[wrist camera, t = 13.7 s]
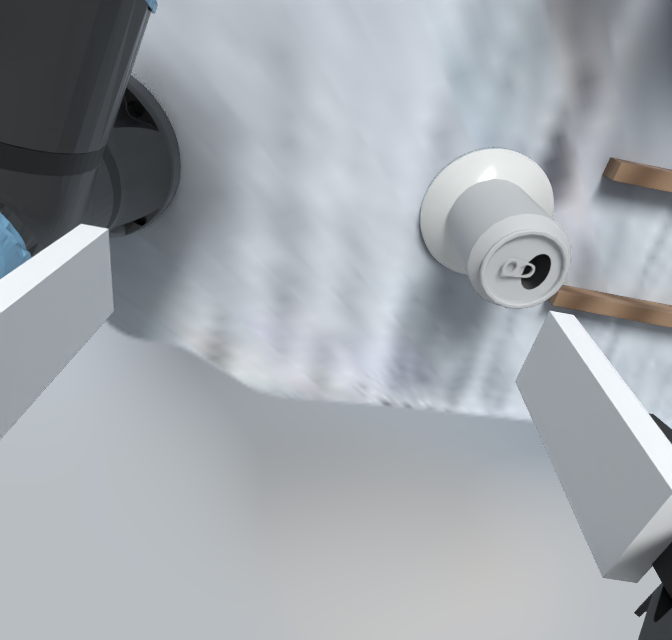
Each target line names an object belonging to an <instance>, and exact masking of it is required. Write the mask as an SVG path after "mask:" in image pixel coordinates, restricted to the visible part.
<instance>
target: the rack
mask: <svg viewBox="0 0 672 640" xmlns="http://www.w3.org/2000/svg"><path fill="white" fill-rule="evenodd" d="M603 175H604V176H606V177H608V178H610V179H611V180H613V181H618V182H623V183H628V184H633V185H638V186H643V187H648V188H653V189H658V190H662V191H667V192H672V170H669V169H664V168H660V167H655V166H650V165H645V164H640V163H635V162H630V161H626V160H621V159H616V158H610V160H609V162H608V164H607V167H606V169H605V171H604V173H603ZM548 300H549V301H550V302H551V304H552V305H553V306H559V307H564V308H569V309H575V310H580V311H585V312H591V313H596V314H602V315H607V316H612V317H618V318H623V319H628V320H634V321H639V322H645V323H650V324H655V325H661V326H666V327H671V328H672V306H671V305H666V304H660V303H655V302H650V301H645V300H639V299H634V298H629V297H623V296H618V295H613V294H607V293H602V292H597V291H592V290H586V289H581V288H576V287H570V286H565V285H562V286H561V287H560V289H559V290H558V291H557V292H556V293H555V294H554V295H553V296H551V297H550V298H549V299H548Z"/></svg>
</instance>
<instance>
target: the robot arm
mask: <svg viewBox="0 0 672 640" xmlns="http://www.w3.org/2000/svg"><path fill="white" fill-rule="evenodd" d="M156 9H157V1H156V0H0V440H1V438H2V437H3V436H4V435H5V434H6V433H7V432H8V430H9V429H10V428H11V427H12V426H13V425H14V424H15V423H16V421H17V420H18V419H19V418H20V417H21V416H22V415H23V413H24V412H25V411H26V410H27V409H28V408H29V407H30V406H31V404H32V403H33V402H34V401H35V400H36V399H37V398H38V396H39V395H40V394H41V393H42V392H43V391H44V390H45V389H46V387H47V386H48V385H49V384H50V383H51V382H52V381H53V380H54V378H55V377H56V376H57V375H58V374H59V373H60V372H61V370H62V369H63V368H64V367H65V366H66V365H67V364H68V363H69V361H70V360H71V359H72V358H73V357H74V356H75V355H76V354H77V352H78V351H79V350H80V349H81V348H82V347H83V345H84V344H85V343H86V342H87V341H88V340H89V339H90V338H91V336H92V335H93V334H94V333H95V332H96V331H97V330H98V329H99V327H100V326H101V325H102V324H103V323H104V322H105V321H106V320H107V318H108V317H109V316H110V315H111V314H112V313H113V312H114V303H113V289H112V274H111V259H110V244H109V238H112V237H119V236H124V235H128V234H131V233H134V232H136V231H138V230H140V229H142V228H144V227H146V226H147V225H149V224H150V223H151V222H152V221H153V220H155V219H156V218H157V217H158V216H159V215H160V214H161V213H162V212H163V211H164V210H165V209H166V208H167V206H168V205H169V204H170V202H171V200H172V199H173V197H174V194H175V192H176V189H177V186H178V182H179V177H180V153H179V147H178V143H177V139H176V136H175V133H174V130H173V128H172V126H171V123H170V121H169V119H168V117H167V115H166V114H165V112H164V110H163V109H162V107H161V106H160V104H159V103H158V102H157V100H156V99H155V98H154V97H153V95H152V94H151V93H150V92H149V91H148V90H147V89H146V88H145V87H144V86H143V85H142V84H141V83H140V82H139V81H138V80H136V79H135V78H134V77H132V76H131V75H130V74H131V71H132V68H133V65H134V62H135V59H136V56H137V53H138V50H139V47H140V44H141V41H142V38H143V35H144V32H145V29H146V26H147V23H148V20H149V17H150V14H151V12H152V13H154V14H155V11H156ZM515 382H516V384H517V386H518V389H519V391H520V393H521V395H522V398H523V400H524V402H525V404H526V407H527V409H528V411H529V413H530V416H531V418H532V420H533V422H534V424H535V427H536V429H537V431H538V433H539V436H540V438H541V440H542V442H543V445H544V447H545V449H546V451H547V454H548V456H549V458H550V460H551V463H552V465H553V467H554V469H555V472H556V474H557V476H558V478H559V481H560V483H561V485H562V487H563V490H564V492H565V494H566V496H567V498H568V501H569V503H570V505H571V508H572V510H573V512H574V514H575V517H576V519H577V521H578V523H579V525H580V528H581V530H582V532H583V534H584V537H585V539H586V541H587V543H588V546H589V548H590V550H591V552H592V555H593V557H594V559H595V561H596V563H597V566H598V568H599V570H600V573H601V575H602V577H603V578H609V579H615V580H621V581H628V582H634V583H637V582H638V581H639V580H640V579H641V578H642V577H643V576H644V575H645V574H646V573H647V571H648V570H649V569H650V568H651V567H652V566H653V567H654V569H655V571H656V572H657V574H658V576H659V578H660V580H661V582H662V583H661V584H660V585H659V587H657V589H656V590H655V591H654V592H653V593H652V594H651V595H650V596H649V597H648V598H647V599H646V600H645V601H644V602H643V603H642V604H641V605H640V606H639V608H638V609H637V610H636V611H635V612H634V613H635V614H636V615H637V616H639V617H640V616H641V615H642V614H643V613H644V612H647V613H646V616H645V620H644V623H643V626H642V629H641V632H640V635H639V639H638V640H672V429H671V428H669V427H668V426H667V425H666V424H665V423H663V422H662V421H661V420H660V419H659V418H657V417H656V416H655V415H654V414H649V413H648V412H647V411H646V410H645V408H644V407H643V406H642V404H641V403H640V402H639V400H638V399H637V398H636V396H635V395H634V394H633V393H632V391H631V390H630V389H629V387H628V386H627V385H626V383H625V382H624V381H623V379H622V378H621V377H620V375H619V374H618V373H617V371H616V370H615V369H614V367H613V366H612V365H611V363H610V362H609V361H608V360H607V358H606V357H605V356H604V354H603V353H602V352H601V350H600V349H599V348H598V346H597V345H596V344H595V342H594V341H593V340H592V338H591V337H590V336H589V334H588V333H587V332H586V330H585V329H584V328H583V327H582V325H581V324H580V323H579V321H578V320H577V319H576V317H575V316H574V315H571V314H565V313H560V312H555V311H549V313H548V315H547V317H546V319H545V321H544V323H543V325H542V327H541V329H540V331H539V333H538V335H537V338H536V340H535V342H534V344H533V346H532V348H531V350H530V352H529V354H528V356H527V358H526V360H525V362H524V365H523V367H522V369H521V371H520V373H519V375H518V377H517V379H516V381H515Z"/></svg>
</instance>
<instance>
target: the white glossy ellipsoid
mask: <svg viewBox="0 0 672 640" xmlns="http://www.w3.org/2000/svg"><path fill="white" fill-rule="evenodd" d="M490 179H501V180H508V181H510V182H512V183H514V184H516V185H518V186H520V187H521V188H522V189H523V190H524V191H525V192H526V193H527V194H528V195H529V196H530V197H531V198H532V199H533V200H534V201H535V202H536V203H537V204H538V205H540V206H541V207H542V208H543V209H544V210H545V211H546V212H547V213H548V214H549V215H550V216H551V217H552V216H553V209H554V197H553V192H552V187H551V185H550V182H549V180H548V178H547V176H546V174H545V173H544V172H543V170H542V169H541V168H540V167H539V166H538V165H537V164H536V163H535V162H534V161H532V160H531V159H530V158H528V157H526V156H525V155H523V154H521V153H519V152H517V151H513V150H510V149H505V148H485V149H479V150H475V151H472V152H469V153H467V154H464V155H462V156H460V157H458V158H457V159H455V160H453V161H452V162H451V163H449V164H448V165H447V166H446V167H444V168H443V169H442V170H441V171H440V172H439V173H438V175H437V176H436V177H435V178H434V179H433V181H432V182H431V184H430V185H429V187H428V189H427V191H426V193H425V196H424V198H423V201H422V206H421V210H420V227H421V232H422V236H423V239H424V241H425V244H426V246H427V248H428V250H429V251H430V253H431V254H432V255H433V257H434V258H435V259H436V260H437V261H438V262H440V263H441V264H442V265H443V266H445V267H447V268H448V269H450V270H452V271H455V272H458V273H461V274H465V275H467V273H466V271H465V269H464V266H463V264H462V262H461V260H460V258H459V255H458V253H457V251H456V249H455V246H454V244H453V242H452V240H451V237H450V235H449V229H448V219H449V214H450V210H451V208H452V206H453V204H454V203H455V201H456V199H457V198H458V197H459V196H460V195H461V194H462V193H463V192H464V191H465V190H466V189H467V188H469V187H471V186H473V185H474V184H476V183H478V182H480V181H485V180H490Z"/></svg>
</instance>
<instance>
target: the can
mask: <svg viewBox="0 0 672 640" xmlns="http://www.w3.org/2000/svg"><path fill="white" fill-rule="evenodd" d="M448 229H449V235H450V237H451V240H452V242H453V244H454V246H455V249H456V251H457V253H458V255H459V258H460V260H461V262H462V264H463V266H464V269H465V271H466V273H467V275H468V278H469V280H470V282H471V284H472V286H473V288H474V290H475V291H476V292H477V293H478V294H479V295H480V296H481V297H482V298H483V299H484V300H487V301H489V302H491V303H494V304H496V305H500V306H503V307H506V308H515V309H521V308H528V307H533V306H535V305H537V304H540V303H542V302H544V301H546V300H547V299H549V298H550V297H551V296H553V295H554V294H555V293H556V292H557V291H558V290H559V289H560V287H561V286H562V285H563V284H564V282H565V280H566V278H567V275H568V272H569V270H570V262H571V249H572V246H571V243H570V241H569V238H568V235H567V233H566V232H565V230H564V229H563V228H562V227H561V226H560V225H559V224H558V223H557V222H556V221H555V220H554V219H553V218H552V217H551V216H550V215H549V214H548V213H547V212H546V211H545V210H544V209H543V208H542V207H541V206H540V205H538V204H537V203H536V202H535V201H534V200H533V199H532V198H531V197H530V196H529V195H528V194H527V193H526V192H525V191H524V190H523V189H522V188H521V187H520V186H518V185H516V184H514V183H512V182H510V181H508V180H501V179H490V180H485V181H480V182H478V183H476V184H474V185H473V186H471V187H469V188H467V189H466V190H465V191H464V192H463V193H462V194H461V195H460V196H459V197H458V198H457V199H456V201H455V203H454V204H453V206H452V208H451V210H450V214H449V219H448Z"/></svg>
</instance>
